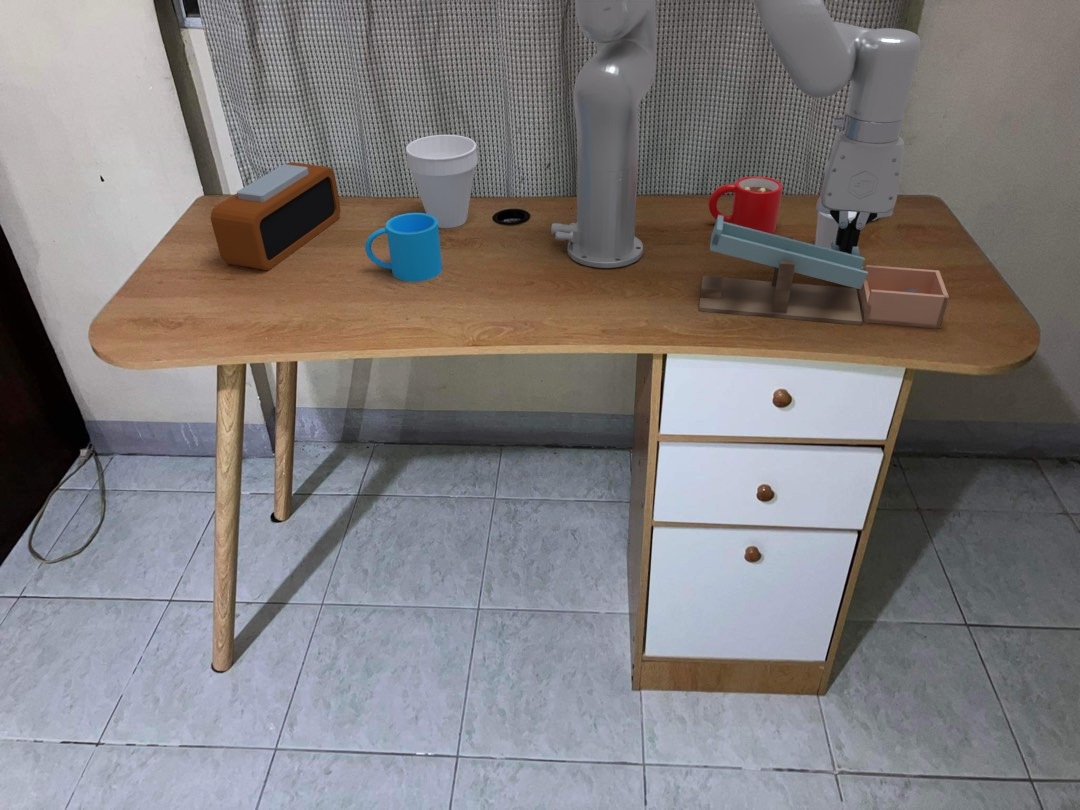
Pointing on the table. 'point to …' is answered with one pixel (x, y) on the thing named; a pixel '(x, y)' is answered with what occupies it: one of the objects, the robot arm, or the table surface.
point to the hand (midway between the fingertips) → (844, 249)
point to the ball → (911, 291)
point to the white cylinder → (828, 229)
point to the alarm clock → (276, 215)
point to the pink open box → (903, 297)
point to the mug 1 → (410, 247)
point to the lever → (789, 253)
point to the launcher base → (780, 298)
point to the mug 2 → (751, 203)
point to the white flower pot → (444, 175)
